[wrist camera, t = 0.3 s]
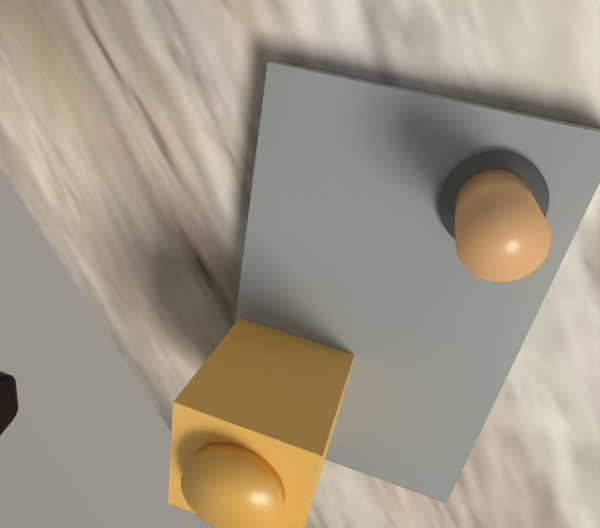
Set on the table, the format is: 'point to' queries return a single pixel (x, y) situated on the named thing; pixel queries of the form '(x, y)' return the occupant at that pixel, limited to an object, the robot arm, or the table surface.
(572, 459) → the table surface
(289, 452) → the domed push button
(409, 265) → the plate
